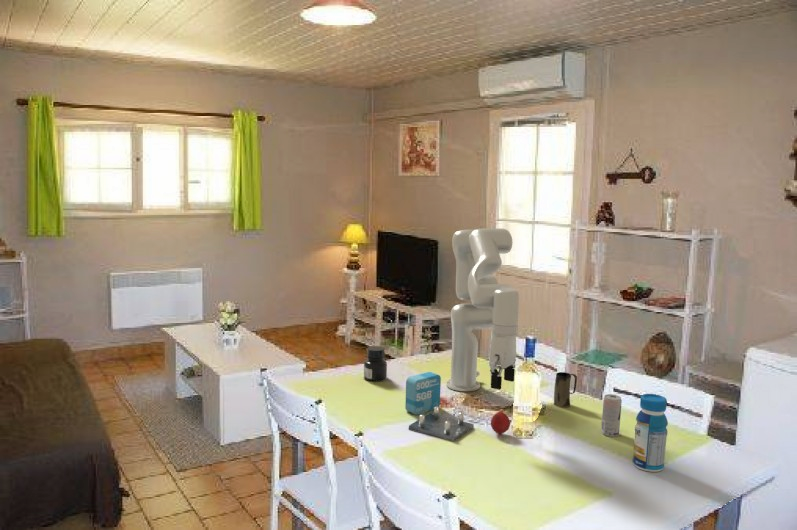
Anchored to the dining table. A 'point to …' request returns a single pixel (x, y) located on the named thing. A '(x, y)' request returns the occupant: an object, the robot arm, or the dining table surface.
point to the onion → (500, 422)
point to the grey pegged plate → (441, 425)
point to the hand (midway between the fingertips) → (502, 384)
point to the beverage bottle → (650, 433)
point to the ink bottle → (375, 364)
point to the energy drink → (611, 415)
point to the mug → (563, 389)
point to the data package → (422, 392)
